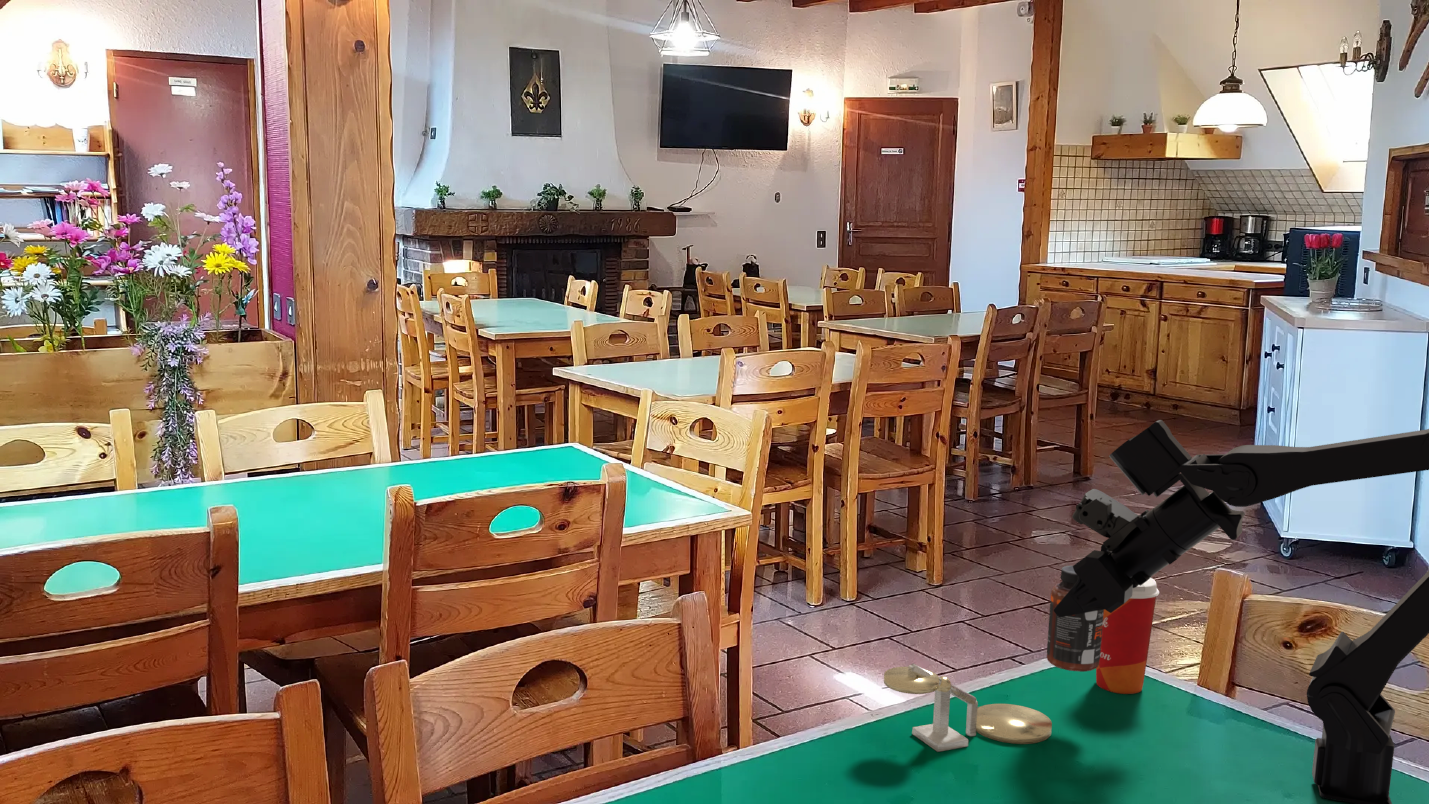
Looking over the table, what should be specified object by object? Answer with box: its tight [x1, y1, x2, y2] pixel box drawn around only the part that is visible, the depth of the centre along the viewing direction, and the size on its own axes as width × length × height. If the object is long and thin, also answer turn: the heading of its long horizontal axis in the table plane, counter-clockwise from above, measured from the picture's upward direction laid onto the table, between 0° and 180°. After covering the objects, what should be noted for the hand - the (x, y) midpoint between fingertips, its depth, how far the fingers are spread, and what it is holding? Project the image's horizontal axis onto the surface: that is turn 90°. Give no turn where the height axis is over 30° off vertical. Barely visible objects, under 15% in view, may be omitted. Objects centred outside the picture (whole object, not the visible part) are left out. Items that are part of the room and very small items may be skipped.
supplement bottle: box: [1046, 565, 1104, 673], centre depth 140 cm, size 6×6×11 cm
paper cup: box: [1095, 577, 1160, 695], centre depth 153 cm, size 8×8×14 cm
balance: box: [883, 663, 1053, 753], centre depth 137 cm, size 22×9×9 cm, turn 114°
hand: (1064, 606), depth 141 cm, fingers closed on supplement bottle, 6 cm apart
